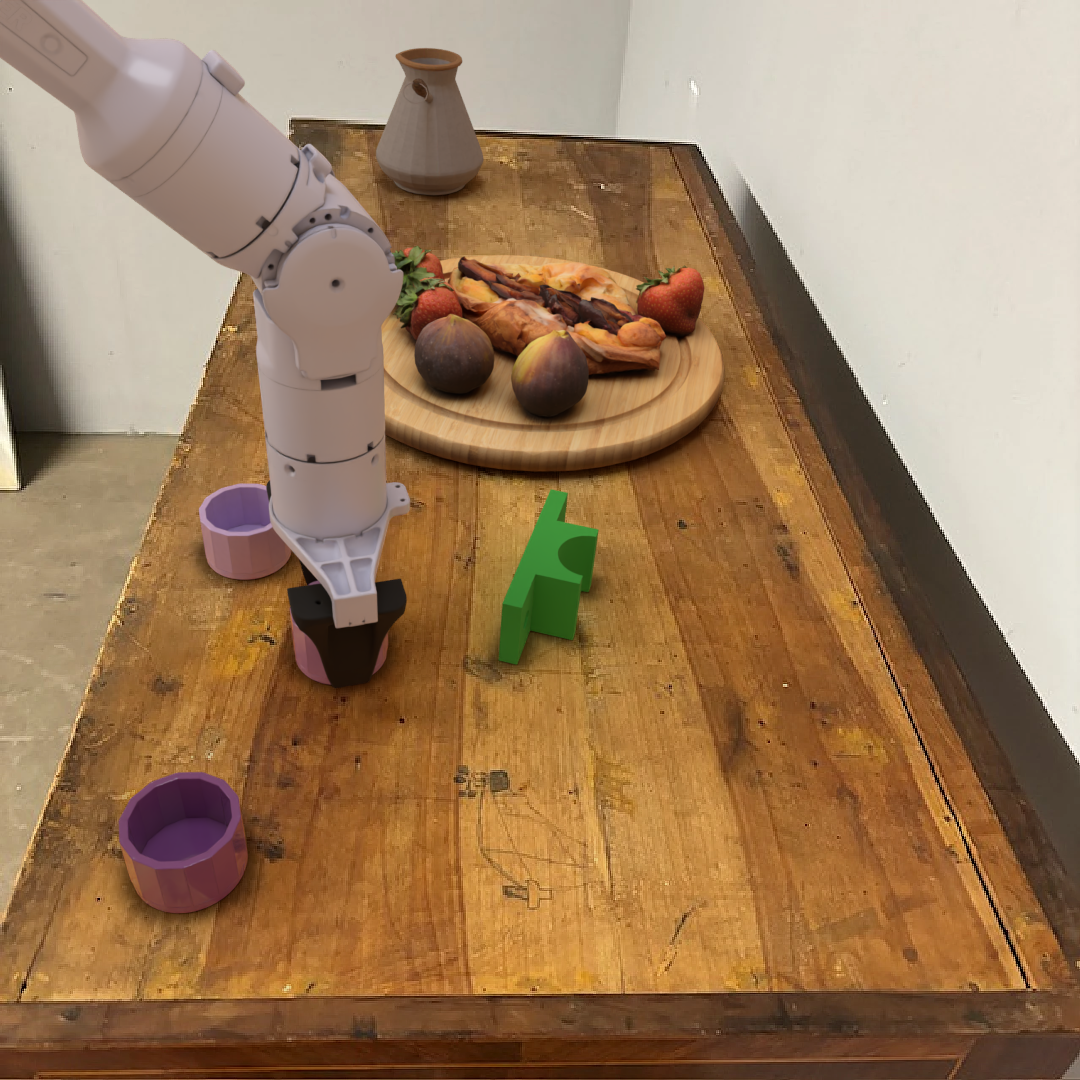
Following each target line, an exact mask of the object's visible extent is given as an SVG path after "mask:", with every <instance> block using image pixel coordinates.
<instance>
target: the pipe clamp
mask: <svg viewBox="0 0 1080 1080" xmlns="http://www.w3.org/2000/svg"><path fill="white" fill-rule="evenodd" d="M568 497H569V492H567V491H566V492H565V491H561V490H556V489H552V488H551V489H550V490H549V492H548V494H547V497H546V500H545V502H544V504H543V507H542V509H541V512H540V514H539V516H538V517H537V521H536V523H535V525H534V528H533V529H532V532H531V535H530V537H529V539H528V542H527V545H526V547H525V549H524V551H523V554H522V556H521V559H520V561H519V563H518V566H517V567H516V570H515V573H514V575H513V577H512V579H511V583H510V584H509V587H508V589H507V591H506V594H505V596H504V597H503V598H504V599H503V601H502V603H501V619H500V630H499V631H500V633H499V648H498V661H499V662H503V663H508V664H512V665H516V666H517V665H518V663H519V661H520V659H521V656H522V654H523V651H524V648H525V646H526V643H527V640H528V638H529V634H530V632H534V633H535V632H536V633H540V634H544V635H548V636H552V637H557V638H560V639H561V638H562V639H565V640H569V641H573V640H574V638H575V634H576V631H577V623H578V615H579V608H580V600H581V593H582V592H585V593H590V589H591V586H592V583H593V582H592V581H593V574H594V566H595V559H596V551H597V544H598V537H599V530H600V529H598V528H594V527H589V526H585V525H579V524H574V523H570V522H566V515H567V505H568Z"/></svg>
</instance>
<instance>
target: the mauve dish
mask: <svg viewBox="0 0 1080 1080" xmlns="http://www.w3.org/2000/svg"><path fill="white" fill-rule="evenodd" d="M313 584H320V582H319V581H315V582H312V583H310V584H309V585H313ZM289 617H290V625H291V635H292V645H293V652H294V659H295V663H296V665H297V667H298V669H299V670H300V671H301V673H302V674H304V675H305V676H306V677H307V678H309V679H311V680H313V681H315V682H317V683H320V684H323V685H329V686H332V685H331V684H330V682H329V680H328V678H327V675H326V673H325V670H324V667H323V664H322V661H321V658H320V655H319V652H318V650H317V648H316V646H315V645H314V643H313V642H312V640H311V639H310V638H309V637H308V636H307V635H306V634H304V633H303V632H302V631H300V630H299V628H298V626H297V625H296V623H295V621H294V619H293V617H292V613H291V609H290V608H289ZM388 647H389V632H388V633H387V634H386V636H385V638H384V640H383V643H382V646H381V649H380V652H379V655H378V659H377V662H376V666H375V669H374V672H373V675H375V674H376V673H377V672H378V671H379V670H380V669H381V668H382V666H383V665H384V663H385V661H386V659H387V656H388Z"/></svg>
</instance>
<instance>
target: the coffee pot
mask: <svg viewBox="0 0 1080 1080" xmlns="http://www.w3.org/2000/svg"><path fill="white" fill-rule="evenodd" d="M395 59H396V60H397V62H398V63H399V65H400V67H401V69H402V71H403V72H404V76H405V77H404V79H403V81H402V84H401V87H400V89H399V92H398V94H397V96H396V99H395V102H394V105H393V107H392V108H391V109H392V110H391V111H390V114H389V116H388V119H387V122H386V124H385V126H384V129H383V132H382V133H381V137H380V139H379V142H378V144H377V147H376V149H375V159H376V161H377V164H378V165H379V168H380V169H381V171H382V173H384V174H385V175H386V177H387V178H389V179H390V180H392V181H393V183H394V184H395V186H396V187H398V188H399V189H401V190H404V191H406V192H408V193H413V194H416V195H423V196H441V195H442V196H443V195H448V194H455V193H456V192H459V191H461V190H462V189H463V188H464V187H465V186H466V184H468V183H469V182H471V181H472V180H473V179H474V178H475V177H477V175H478V173H479V172H480V171H481V168H482V166H483V163H484V159H485V158H484V153H483V151H482V148H481V144H480V142H479V139H478V137H477V134H476V131H475V128H474V126H473V123H472V121H471V118H470V115H469V113H468V109H467V107H466V104H465V102H464V99H463V97H462V94H461V91H460V88H459V86H458V83H457V80H456V77H457V74H458V69H459V67H460V66H461V65H462V64H463V58H462V56H461V55H460V54H458V53H456V52H454V51H450V50H447V49H442V48H433V47H417V48H410V49H405V50H403V51H400V52H398V53H396V54H395Z"/></svg>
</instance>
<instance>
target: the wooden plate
mask: <svg viewBox="0 0 1080 1080" xmlns="http://www.w3.org/2000/svg"><path fill="white" fill-rule="evenodd" d="M431 251H432V249H423V248H422V247H420V246H419V245H415V246H413V247H407V248H405V249H403V250H402V249H399V251H398V250H397V249H396V250H395V251H394V252H391V253H392V254H393V255H394V258H395V266H396V267H397V270H398V269H399V270H402V271H403V284H402V289H401V292H400V295H399V298H398V300H397V303H396V305H395V307H394V308H393V310H392V311H391V313H390V314H389V316H388V317H387V318H386V320H385V321H384V322H383V324H382V325H381V330H382V344H383V356H384V400H385V436H388V437H390V438H391V439H394V440H395V441H397V442H400V443H401V444H404V445H406V446H409V447H411V448H414V449H416V450H419V451H420V452H421V451H422V452H423V453H428V454H430V455H434V456H436V457H439V458H442V459H446V460H450V461H453V462H454V461H455V462H458V463H461V464H466V465H472V466H477V467H483V468H491V469H496V470H497V469H498V470H505V471H506V470H507V471H521V472H523V471H524V472H567V471H569V472H570V471H581V470H589V469H596V468H602V467H608V466H612V465H618V464H623V463H626V462H630V461H634V460H638V459H640V458H643V457H646V456H649V455H651V454H654V453H656V452H658V451H661V450H663V449H665V448H667V447H669V446H670V445H673V444H674V443H676V442H677V441H680V440H681V439H682V438H684V437H685V436H687V435H689V434H691V432H693V431H694V430H695V429H696V428H697V427H699V425H701V424H702V423H703V422H704V420H705V419H706V418H707V417H708V416H709V415H710V414H711V412H712V411H713V409H714V408H715V406H716V405H717V403H718V401H719V400H720V397H721V395H722V391H723V388H724V383H725V372H726V371H725V361H724V356H723V352H722V351H721V350H722V349H721V348H720V346H719V344H718V342H717V339H716V338H715V336H714V335H713V333H712V331H711V329H710V328H709V327H708V326H707V325H706V323H705V322H703V320H701V319H700V313H701V310H702V304H703V300H704V295H705V294H704V293H705V284H704V279H703V277H702V275H701V273H700V272H699V271H698V270H697V269H696V268H692V267H687V266H686V265H685V264H684V265H683V266H679V267H678V268H677V270H676V268H675V265H673V266H672V268H671V267H665V270H666V272H663V271H661V270H659V269H657V272H658V274H659V275H660V277H658V278H653V279H651V278H648V277H647V276H643V279H645V280H646V281H647V282H643V281H641V280H640V279H637V278H634V277H632V276H629V275H626V274H624V273H621V272H617V271H614V270H610V269H607V268H604V267H599V266H596V265H592V264H587V263H584V262H579V261H573V260H568V259H561V258H553V257H547V256H546V257H545V256H535V255H517V254H495V255H474V256H461V257H456V258H455V257H454V258H448V259H442V260H440V259H439V258H438V257H437V256H436V255H435V254H434V253H430V252H431Z"/></svg>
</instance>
